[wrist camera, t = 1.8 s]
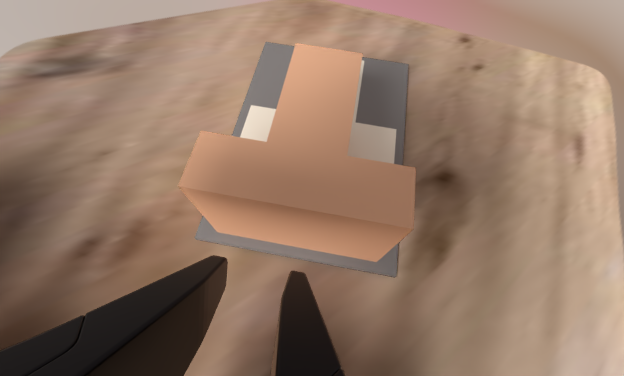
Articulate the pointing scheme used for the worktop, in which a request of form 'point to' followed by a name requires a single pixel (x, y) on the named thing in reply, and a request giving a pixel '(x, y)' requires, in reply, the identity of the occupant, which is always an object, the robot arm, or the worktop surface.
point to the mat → (363, 140)
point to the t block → (305, 170)
